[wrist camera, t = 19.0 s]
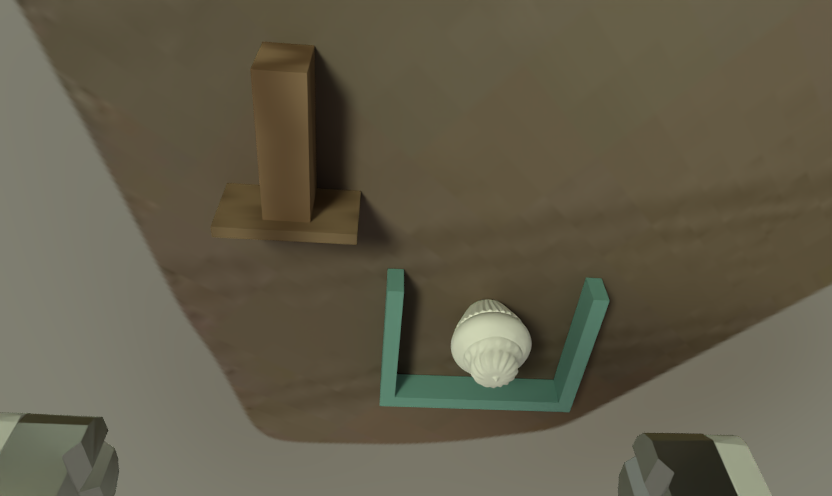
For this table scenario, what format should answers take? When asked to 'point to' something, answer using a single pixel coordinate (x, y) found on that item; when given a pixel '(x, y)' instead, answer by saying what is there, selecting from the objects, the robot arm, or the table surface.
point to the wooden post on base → (286, 161)
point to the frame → (507, 397)
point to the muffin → (490, 343)
